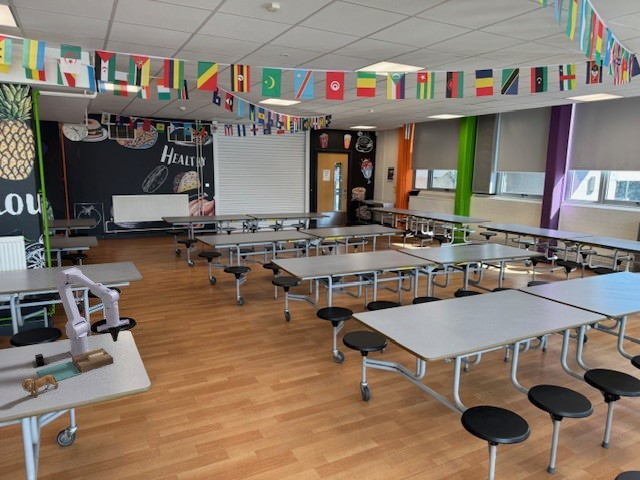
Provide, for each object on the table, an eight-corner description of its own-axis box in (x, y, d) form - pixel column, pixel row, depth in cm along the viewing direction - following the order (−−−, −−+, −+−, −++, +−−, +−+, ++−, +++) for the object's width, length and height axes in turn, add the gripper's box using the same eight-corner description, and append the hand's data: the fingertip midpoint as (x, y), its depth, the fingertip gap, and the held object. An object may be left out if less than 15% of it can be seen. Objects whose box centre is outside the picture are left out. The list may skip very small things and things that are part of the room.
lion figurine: (29, 403, 171) (26, 382, 170) (20, 400, 173) (17, 380, 172) (62, 385, 185) (60, 366, 183) (54, 383, 187) (51, 364, 185)
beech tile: (85, 355, 208) (84, 351, 208) (98, 351, 212) (97, 347, 212) (90, 361, 202) (90, 357, 201) (104, 357, 206) (103, 353, 205)
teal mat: (37, 371, 199) (37, 370, 198) (70, 361, 208) (70, 361, 208) (45, 385, 186) (45, 384, 186) (81, 374, 195) (81, 373, 195)
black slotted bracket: (29, 362, 210) (28, 353, 209) (47, 358, 214) (46, 349, 214) (33, 370, 200) (32, 361, 200) (51, 366, 205) (50, 357, 204)
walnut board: (72, 362, 208) (71, 356, 207) (103, 353, 217) (102, 347, 217) (81, 373, 196) (81, 367, 196) (113, 363, 206) (113, 357, 205)
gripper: (99, 320, 203) (102, 347, 205) (130, 313, 213) (132, 338, 215) (94, 317, 208) (97, 343, 210) (125, 310, 218) (127, 335, 220)
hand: (115, 340), depth 213 cm, fingers closed
